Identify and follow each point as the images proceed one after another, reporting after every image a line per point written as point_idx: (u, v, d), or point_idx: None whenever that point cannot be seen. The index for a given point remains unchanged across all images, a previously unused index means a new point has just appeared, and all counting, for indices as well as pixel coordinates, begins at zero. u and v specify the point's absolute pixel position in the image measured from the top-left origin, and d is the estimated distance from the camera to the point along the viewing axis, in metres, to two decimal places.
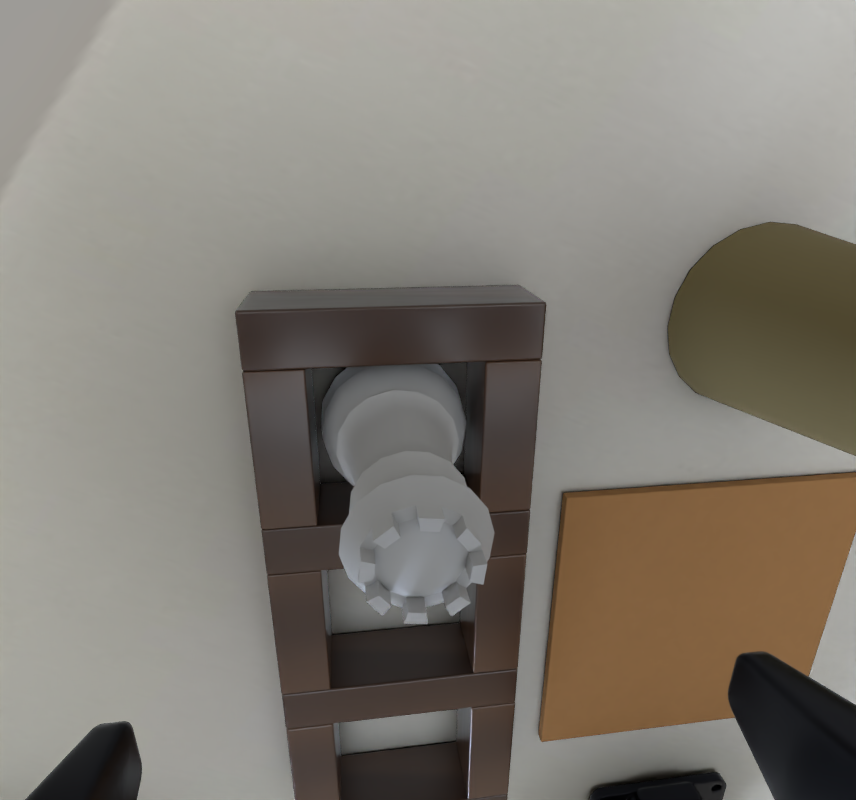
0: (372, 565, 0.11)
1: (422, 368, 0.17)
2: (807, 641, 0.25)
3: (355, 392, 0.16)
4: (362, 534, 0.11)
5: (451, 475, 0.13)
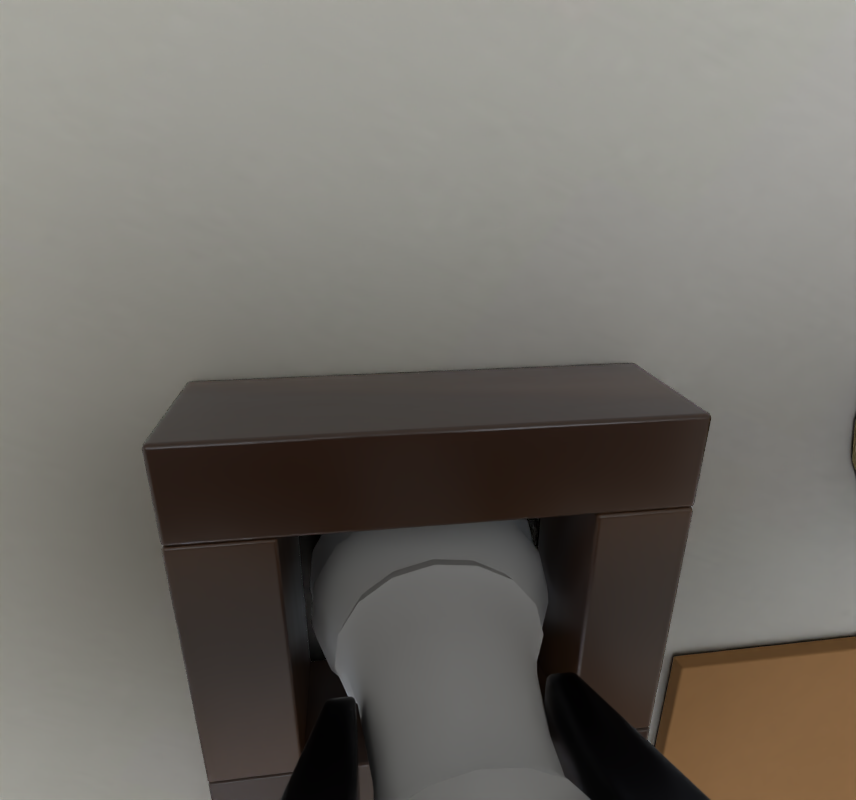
0: None
1: None
2: None
3: (368, 559, 0.09)
4: None
5: None
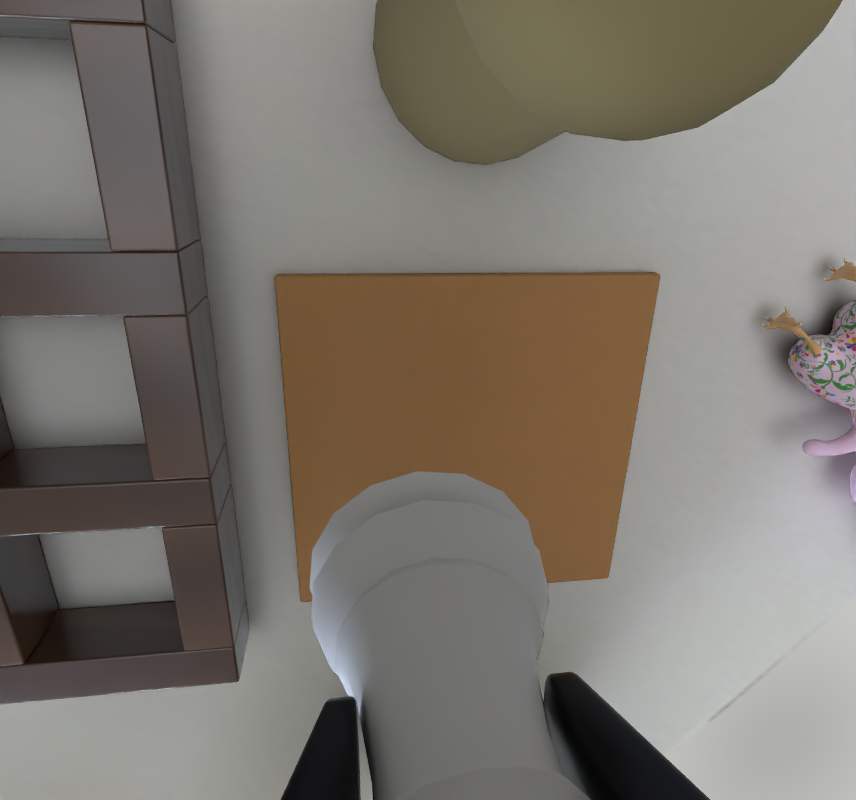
0: None
1: (480, 510, 0.10)
2: (608, 490, 0.21)
3: (367, 558, 0.09)
4: None
5: None
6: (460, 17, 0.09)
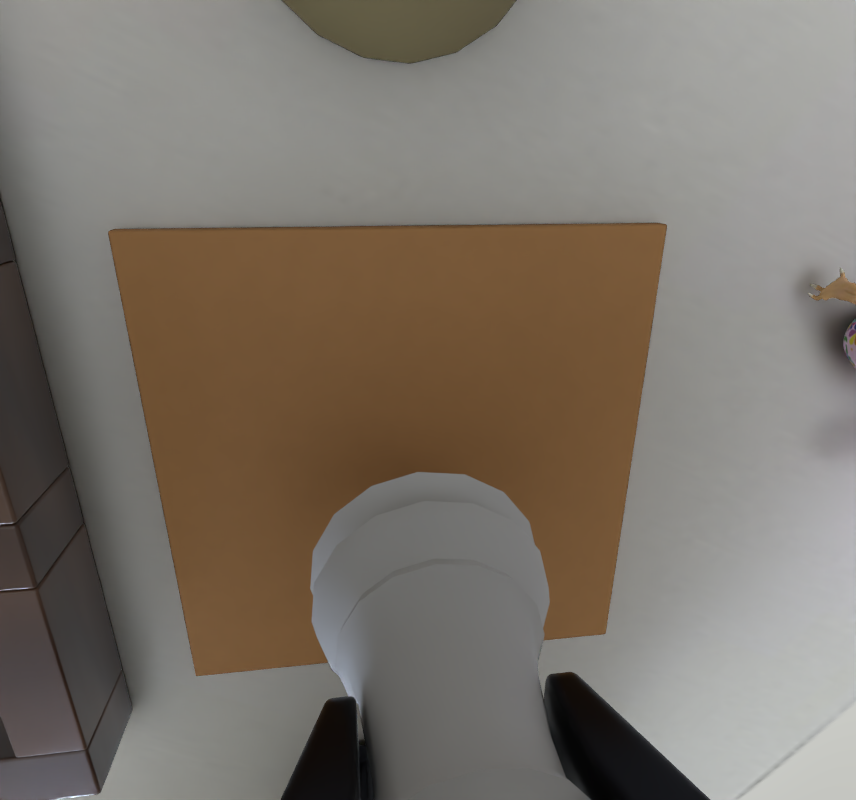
0: None
1: (480, 511, 0.10)
2: (602, 522, 0.16)
3: (368, 559, 0.09)
4: None
5: None
6: None
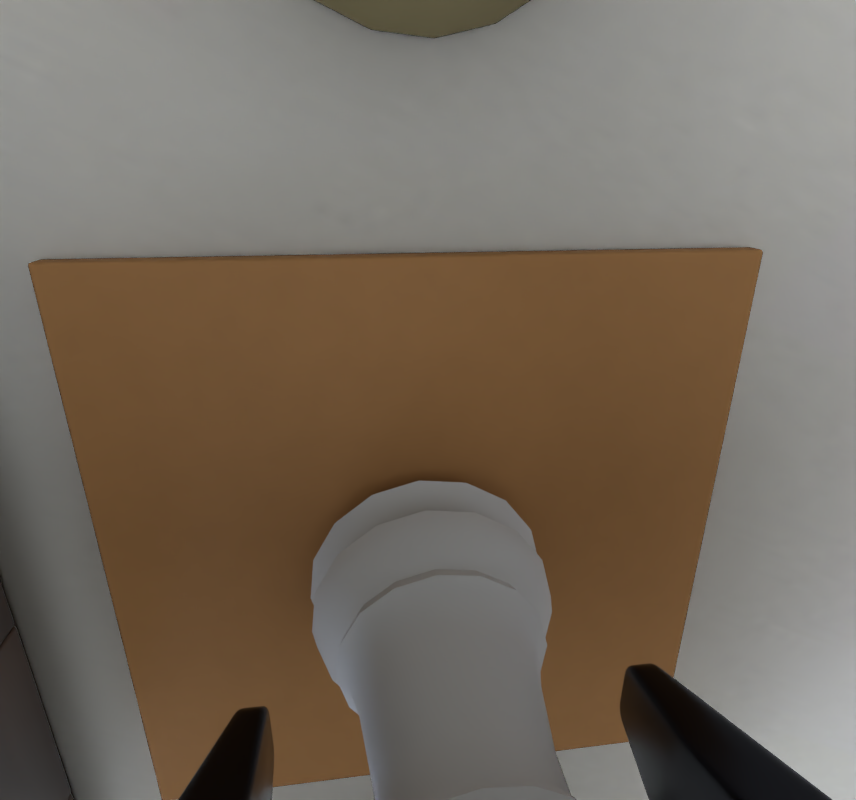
0: None
1: (482, 520, 0.10)
2: (663, 611, 0.13)
3: (369, 569, 0.09)
4: None
5: None
6: None
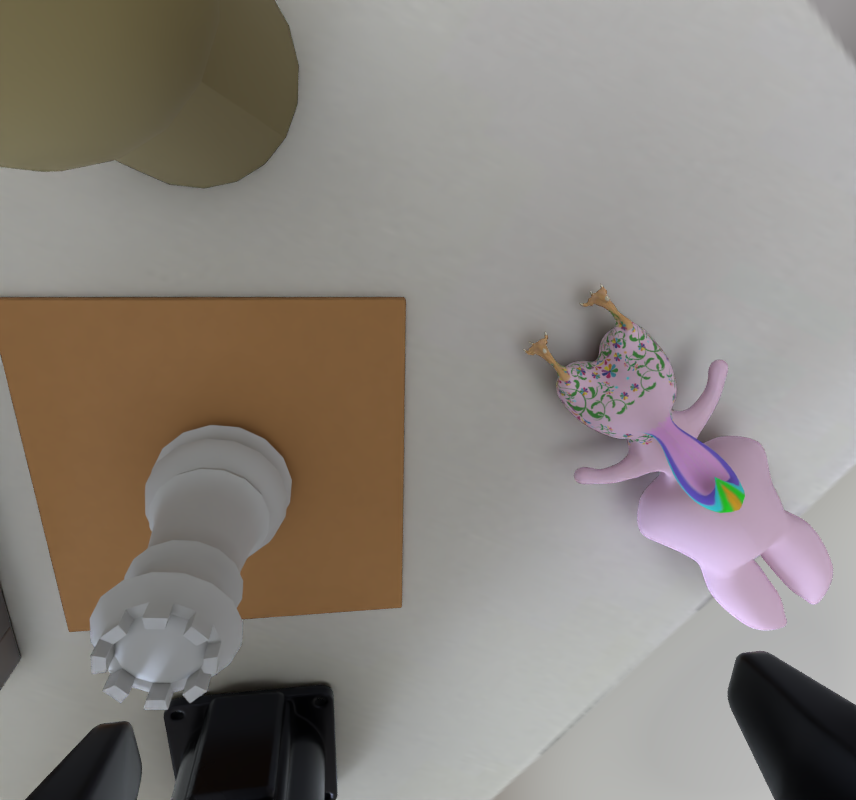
0: (102, 659, 0.12)
1: (237, 445, 0.18)
2: (386, 518, 0.21)
3: (169, 468, 0.17)
4: (102, 627, 0.12)
5: (218, 562, 0.14)
6: None
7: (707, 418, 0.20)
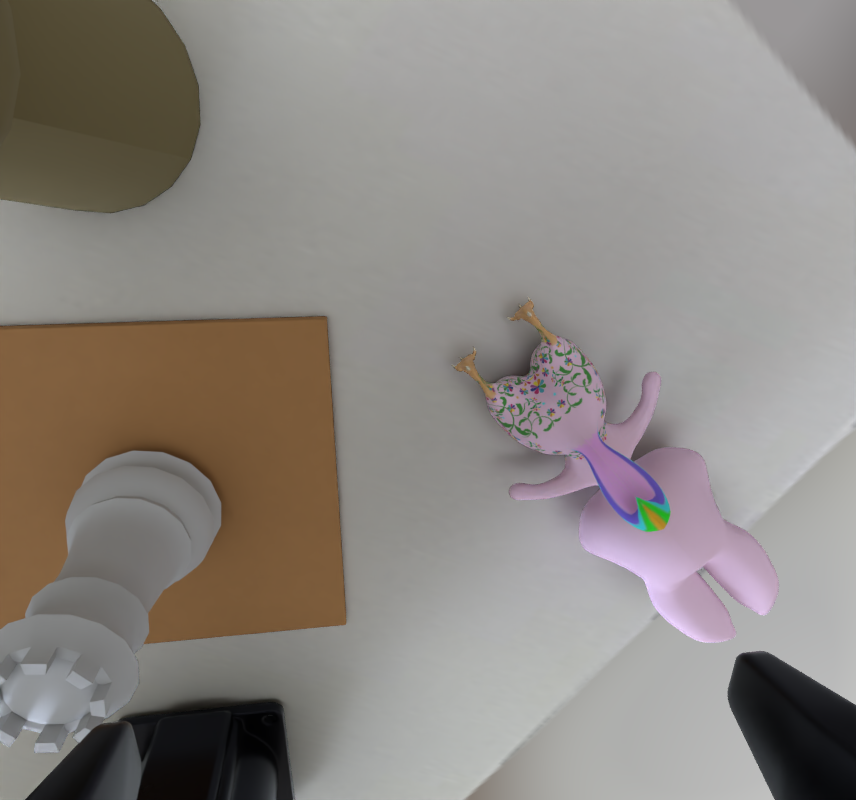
0: None
1: (157, 471, 0.17)
2: (323, 537, 0.21)
3: (86, 497, 0.17)
4: None
5: (119, 598, 0.14)
6: None
7: (642, 430, 0.19)
